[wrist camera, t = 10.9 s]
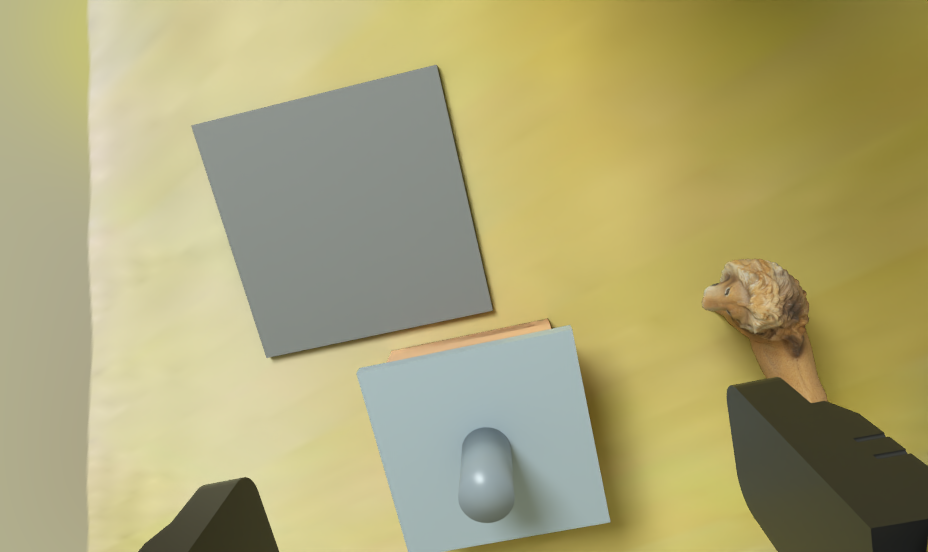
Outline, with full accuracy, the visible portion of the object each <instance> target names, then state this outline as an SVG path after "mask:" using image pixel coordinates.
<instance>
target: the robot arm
mask: <svg viewBox="0 0 928 552" xmlns="http://www.w3.org/2000/svg"><path fill="white" fill-rule="evenodd" d="M727 405H728V412H729V419H730V427H731V434H732V441H733V448H734V455H735V462H736V469H737V475H738V480H739V484H740V487H741V490H742V493H743V496H744V499H745V501H746V503H747V506H748V508H749V510H750V511H751V513H752V515H753V516H754V518H755V519H756V521H757V522H758V524H759V525H760V527H761V528H762V530H763V531H764V532H765V534H766V535H767V537H768V538H769V540H770V541H771V543H772V544H773V545H774V547H775V548H776V550H777V551H778V552H928V466H927V465H926V464H924V463H923V462H922V461H920V460H919V459H918V458H916V457H915V456H914V455H913V454H907V452H906V449H905V448H903V447H902V446H901V445H899V444H898V443H897V442H895V441H894V440H893V439H892V438H890V437H885V435H884V432H882V431H881V430H880V429H878V428H877V427H876V426H875V425H873V424H872V423H871V422H869V421H868V420H867V419H865V418H864V417H863V416H861V415H860V414H858V413H856V412H853V411H850V410H848V409H845V408H842V407H840V406H837V405H835V404H832V403H829V402H827V401H820V402H815V403H810V402H809V401H808V400H807V399H806V398H804V397H803V396H802V395H801V394H800V393H798V392H797V391H796V390H795V389H794V388H793V387H791V386H790V385H789V384H788V383H787V382H785V381H784V380H783V379H782V378H780V377H773V378H768V379H762V380H757V381H752V382H747V383H741V384H736V385H731V386H729V387H728V389H727ZM138 552H279V550H278V547H277V544H276V541H275V539H274V536H273V533H272V530H271V527H270V524H269V521H268V518H267V515H266V513H265V510H264V507H263V504H262V501H261V498H260V495H259V492H258V490H257V487H256V485H255V484H254V482H253V481H252V480H251V479H249V478H246V477H244V478H239V479H233V480H228V481H223V482H218V483H213V484H207V485H203V486H201V487H200V488H199V489H198V490H197V491H196V492H195V494H194V495H193V496H192V497H191V499H190V500H189V501H188V502H187V504H186V505H185V506H184V507H183V509H182V510H181V511H180V512H179V514H178V515H177V516H176V517H175V519H174V520H173V521H172V522H171V523H170V524H169V525H168V526H166V527H165V528H164V529H163V530H161V531H160V532H159V533H158V534H156V535H155V536H154V537H153V538H151V539H150V540H149V541H148V542H146V543H145V544H144V545H143V547H142V548H141V549H140V550H139V551H138Z"/></svg>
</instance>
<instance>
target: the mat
mask: <svg viewBox="0 0 928 552" xmlns="http://www.w3.org/2000/svg"><path fill="white" fill-rule="evenodd" d="M192 129H193V133H194V136H195V139H196V142H197V145H198V148H199V151H200V154H201V157H202V160H203V163H204V166H205V170H206V173H207V176H208V179H209V182H210V185H211V188H212V191H213V194H214V197H215V200H216V203H217V207H218V210H219V213H220V216H221V219H222V222H223V225H224V228H225V231H226V234H227V237H228V240H229V244H230V247H231V250H232V253H233V256H234V259H235V262H236V265H237V268H238V271H239V274H240V277H241V281H242V284H243V287H244V290H245V293H246V296H247V299H248V302H249V305H250V308H251V311H252V315H253V318H254V321H255V324H256V327H257V330H258V333H259V336H260V339H261V342H262V345H263V348H264V352H265V355H266V358H269V357H273V356H278V355H283V354H288V353H292V352H297V351H302V350H307V349H312V348H316V347H321V346H326V345H331V344H336V343H340V342H345V341H350V340H355V339H359V338H364V337H369V336H374V335H379V334H383V333H388V332H393V331H398V330H402V329H407V328H412V327H417V326H422V325H426V324H431V323H436V322H441V321H445V320H450V319H455V318H460V317H465V316H469V315H474V314H479V313H484V312H488V311H493V308H492V303H491V299H490V295H489V290H488V286H487V281H486V277H485V273H484V268H483V264H482V260H481V255H480V251H479V246H478V242H477V238H476V233H475V229H474V225H473V220H472V216H471V211H470V207H469V203H468V198H467V194H466V190H465V185H464V181H463V176H462V172H461V168H460V163H459V159H458V155H457V150H456V146H455V141H454V137H453V133H452V128H451V124H450V120H449V115H448V111H447V106H446V102H445V98H444V93H443V89H442V85H441V80H440V76H439V71H438V67H437V65H433V66H429V67H425V68H421V69H417V70H413V71H409V72H405V73H401V74H397V75H393V76H389V77H385V78H381V79H377V80H373V81H369V82H365V83H361V84H357V85H353V86H349V87H345V88H341V89H337V90H333V91H329V92H325V93H321V94H317V95H313V96H309V97H305V98H301V99H297V100H293V101H288V102H284V103H280V104H276V105H272V106H268V107H264V108H260V109H256V110H252V111H248V112H244V113H240V114H236V115H232V116H228V117H224V118H220V119H216V120H212V121H208V122H204V123H200V124H196V125H192Z"/></svg>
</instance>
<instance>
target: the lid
mask: <svg viewBox="0 0 928 552" xmlns="http://www.w3.org/2000/svg"><path fill="white" fill-rule="evenodd" d="M357 377H358V380H359V384H360V387H361V391H362V394H363V398H364V401H365V404H366V408H367V411H368V415H369V418H370V422H371V425H372V429H373V432H374V435H375V439H376V442H377V446H378V449H379V453H380V456H381V460H382V463H383V466H384V470H385V473H386V477H387V480H388V484H389V487H390V491H391V494H392V497H393V501H394V504H395V508H396V511H397V515H398V518H399V522H400V525H401V528H402V532H403V535H404V539H405V542H406V546H407V549H408V552H443V551H449V550H455V549H461V548H466V547H472V546H478V545H483V544H489V543H495V542H501V541H506V540H512V539H518V538H523V537H529V536H535V535H541V534H546V533H552V532H558V531H564V530H569V529H575V528H581V527H586V526H592V525H598V524H604V523H609V522H610V517H609V512H608V507H607V502H606V497H605V492H604V487H603V482H602V477H601V472H600V467H599V462H598V457H597V452H596V447H595V442H594V437H593V432H592V427H591V422H590V417H589V412H588V407H587V402H586V397H585V392H584V387H583V382H582V377H581V372H580V367H579V362H578V357H577V352H576V347H575V342H574V337H573V332H572V328H571V326H570V325H568V326H563V327H558V328H553V329H548V330H543V331H539V332H534V333H529V334H524V335H519V336H514V337H509V338H504V339H500V340H495V341H490V342H485V343H480V344H475V345H470V346H465V347H461V348H456V349H451V350H446V351H441V352H436V353H431V354H426V355H422V356H417V357H412V358H407V359H402V360H397V361H392V362H387V363H383V364H378V365H373V366H368V367H363V368H359V370H358V372H357Z"/></svg>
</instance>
